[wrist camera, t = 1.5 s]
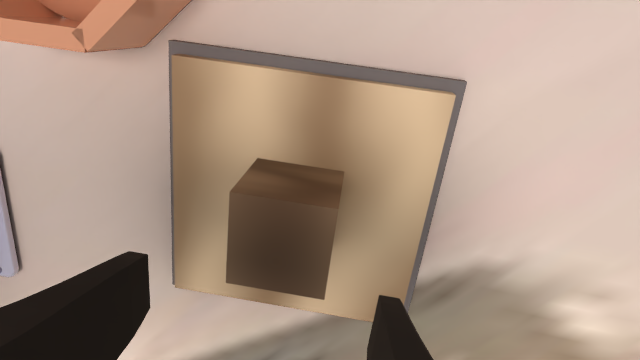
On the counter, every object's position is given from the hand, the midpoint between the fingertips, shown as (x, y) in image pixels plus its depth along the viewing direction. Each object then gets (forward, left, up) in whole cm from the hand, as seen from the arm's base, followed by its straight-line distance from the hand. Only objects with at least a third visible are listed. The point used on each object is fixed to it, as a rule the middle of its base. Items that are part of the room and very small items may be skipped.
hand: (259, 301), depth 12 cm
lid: (0, 0, -8) cm, 8 cm away
